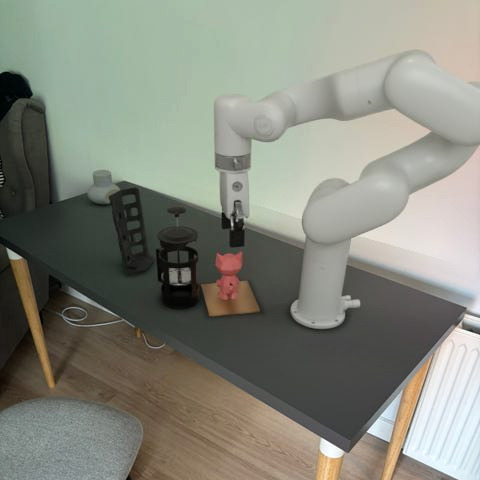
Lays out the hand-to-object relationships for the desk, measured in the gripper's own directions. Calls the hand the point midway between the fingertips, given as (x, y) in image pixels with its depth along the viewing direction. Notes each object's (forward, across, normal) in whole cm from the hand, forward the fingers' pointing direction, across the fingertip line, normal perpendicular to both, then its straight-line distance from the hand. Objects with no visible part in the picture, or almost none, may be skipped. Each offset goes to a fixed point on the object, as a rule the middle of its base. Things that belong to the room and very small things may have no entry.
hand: (232, 237), depth 114 cm
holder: (+16, +20, +23) cm, 34 cm away
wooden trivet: (+16, 0, +1) cm, 16 cm away
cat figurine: (+16, 0, +1) cm, 16 cm away
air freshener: (+15, +67, +31) cm, 75 cm away
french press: (+16, +2, +13) cm, 21 cm away
